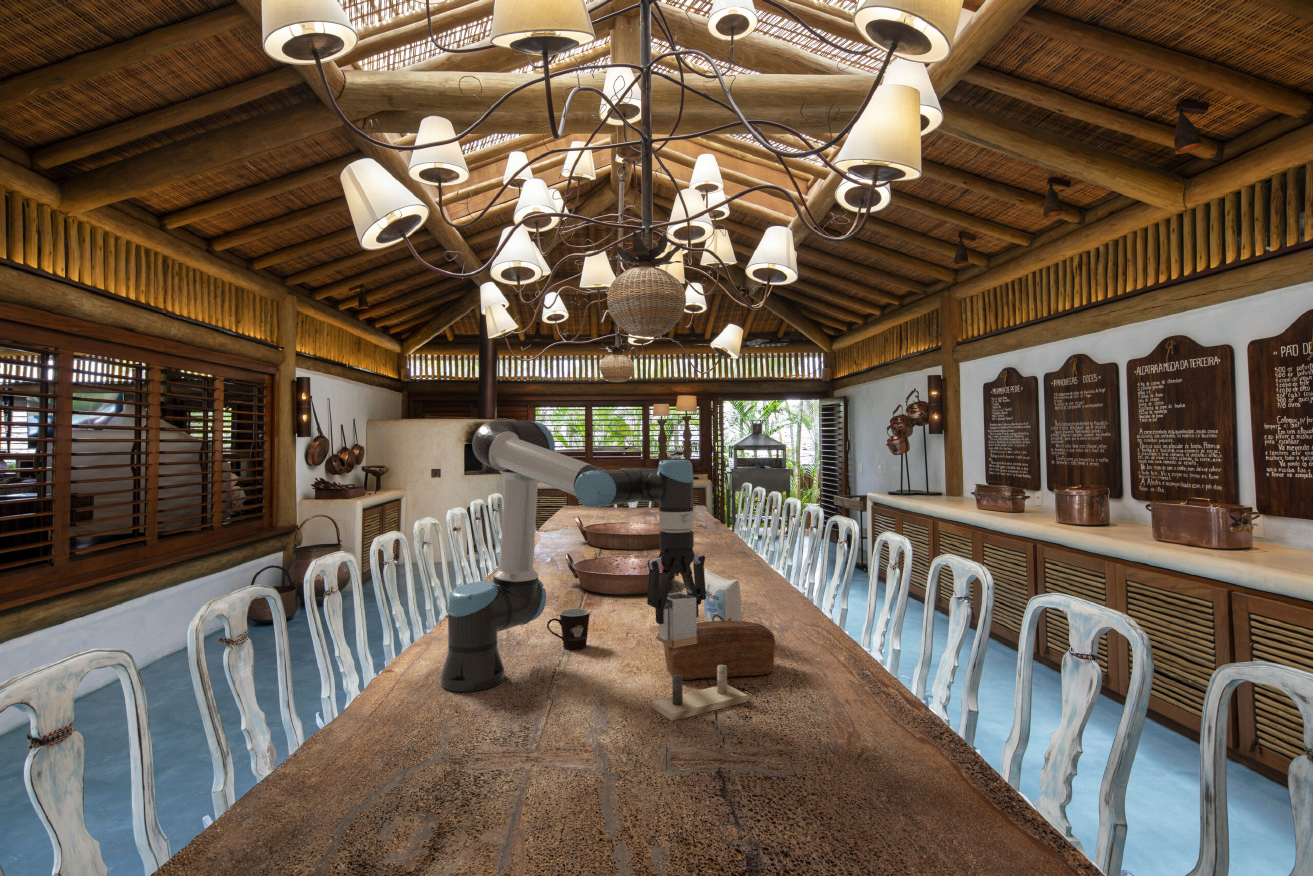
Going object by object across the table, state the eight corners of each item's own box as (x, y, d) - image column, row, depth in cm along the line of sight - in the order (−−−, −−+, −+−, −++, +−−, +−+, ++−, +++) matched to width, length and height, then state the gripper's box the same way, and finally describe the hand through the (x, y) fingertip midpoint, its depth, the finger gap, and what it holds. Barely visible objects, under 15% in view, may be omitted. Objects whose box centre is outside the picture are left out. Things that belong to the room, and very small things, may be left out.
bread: (781, 678, 162) (781, 629, 162) (669, 685, 158) (669, 634, 158) (763, 660, 176) (763, 614, 176) (660, 666, 172) (660, 619, 172)
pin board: (671, 721, 137) (671, 685, 137) (652, 707, 144) (652, 673, 144) (747, 701, 147) (746, 668, 147) (726, 690, 154) (725, 658, 154)
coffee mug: (592, 642, 192) (592, 608, 192) (586, 652, 183) (586, 616, 183) (553, 641, 193) (553, 608, 193) (546, 651, 184) (545, 615, 184)
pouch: (720, 630, 203) (720, 566, 203) (749, 648, 185) (749, 578, 185) (697, 633, 200) (696, 568, 201) (724, 652, 183) (723, 580, 183)
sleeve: (672, 648, 138) (672, 601, 138) (657, 640, 144) (657, 595, 144) (697, 643, 142) (697, 597, 142) (682, 636, 147) (681, 591, 147)
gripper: (646, 535, 135) (647, 647, 135) (722, 528, 145) (723, 633, 144) (629, 531, 141) (630, 638, 141) (703, 525, 151) (704, 625, 151)
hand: (677, 635), depth 143 cm, fingers closed on sleeve, 6 cm apart
